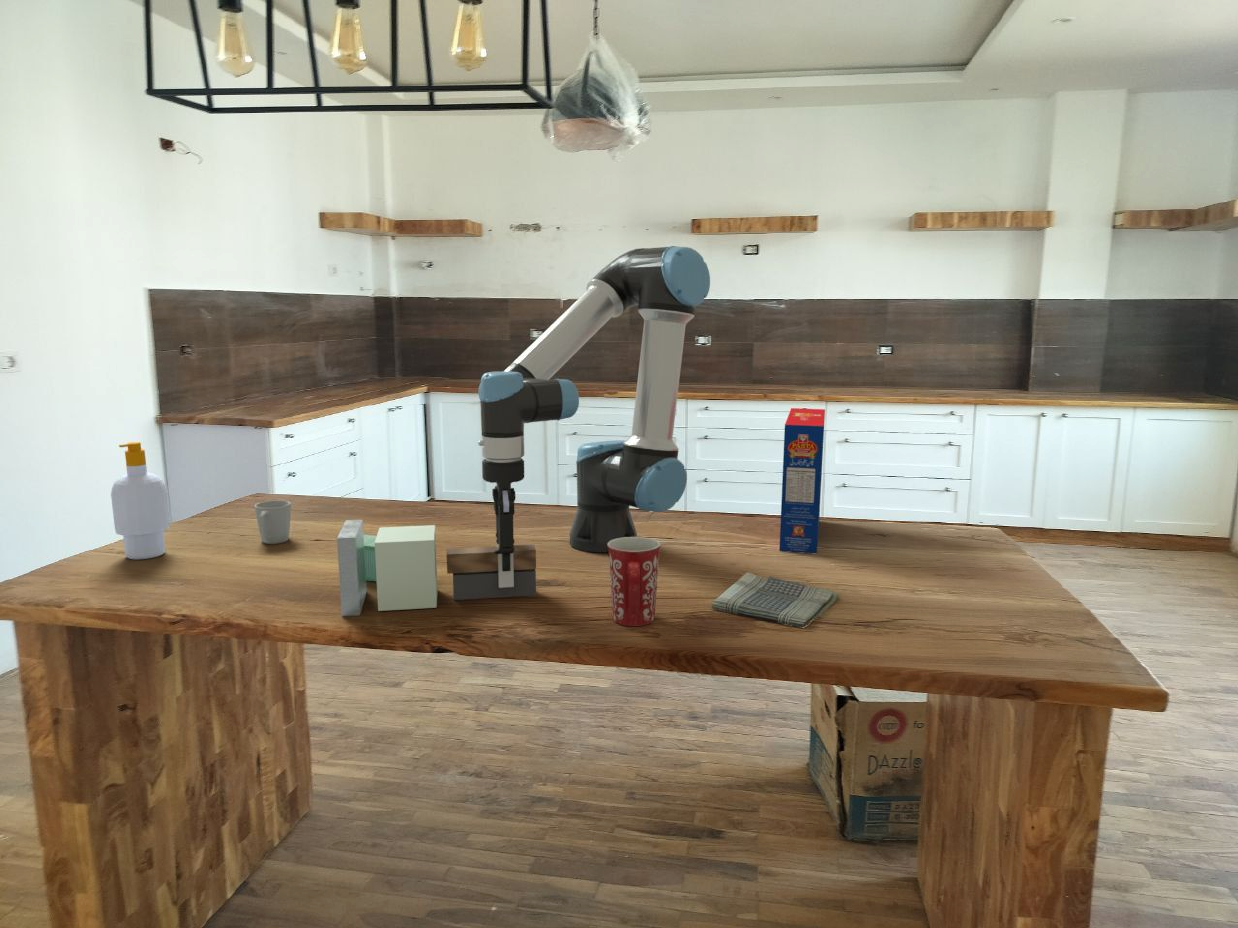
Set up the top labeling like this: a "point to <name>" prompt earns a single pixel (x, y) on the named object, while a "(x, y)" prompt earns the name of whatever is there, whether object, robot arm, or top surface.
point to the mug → (633, 579)
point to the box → (370, 557)
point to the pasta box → (802, 480)
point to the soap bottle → (140, 507)
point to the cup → (273, 520)
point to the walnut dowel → (488, 559)
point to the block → (406, 567)
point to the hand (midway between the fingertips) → (505, 582)
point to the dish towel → (775, 600)
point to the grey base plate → (352, 567)
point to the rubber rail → (492, 585)
